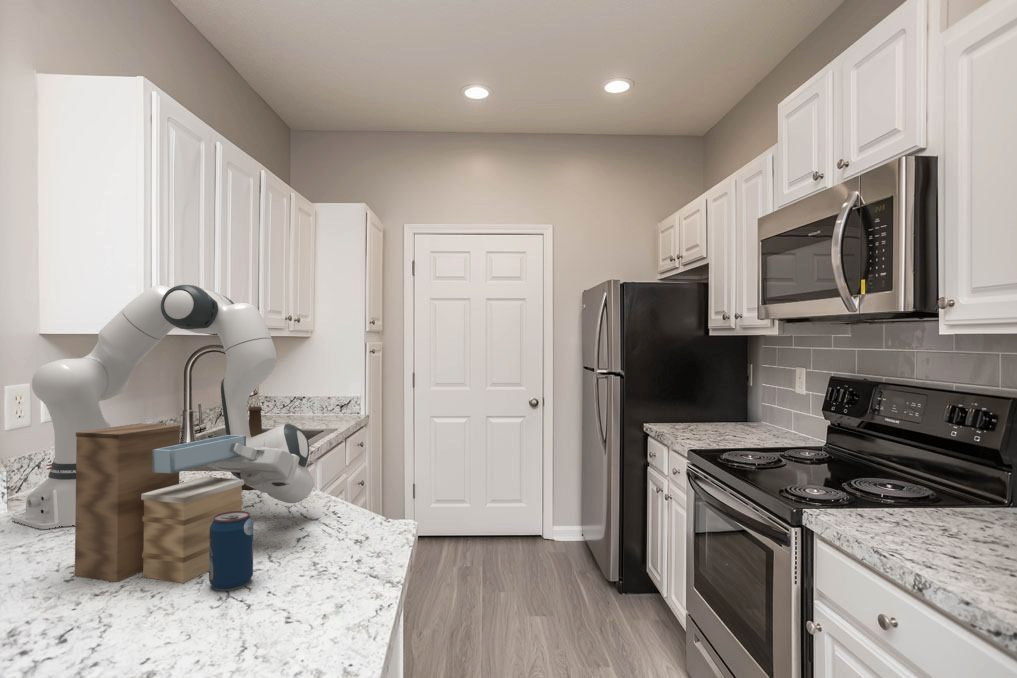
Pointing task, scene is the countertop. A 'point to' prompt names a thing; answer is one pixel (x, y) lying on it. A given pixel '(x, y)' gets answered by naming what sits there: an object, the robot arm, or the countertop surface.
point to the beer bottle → (254, 428)
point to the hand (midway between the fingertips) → (221, 446)
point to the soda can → (231, 550)
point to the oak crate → (184, 525)
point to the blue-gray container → (195, 454)
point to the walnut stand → (116, 496)
